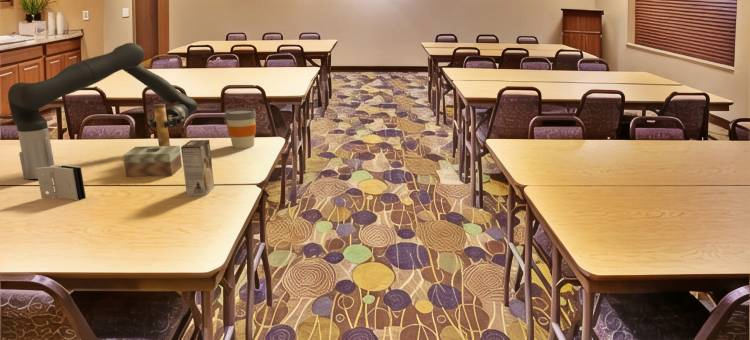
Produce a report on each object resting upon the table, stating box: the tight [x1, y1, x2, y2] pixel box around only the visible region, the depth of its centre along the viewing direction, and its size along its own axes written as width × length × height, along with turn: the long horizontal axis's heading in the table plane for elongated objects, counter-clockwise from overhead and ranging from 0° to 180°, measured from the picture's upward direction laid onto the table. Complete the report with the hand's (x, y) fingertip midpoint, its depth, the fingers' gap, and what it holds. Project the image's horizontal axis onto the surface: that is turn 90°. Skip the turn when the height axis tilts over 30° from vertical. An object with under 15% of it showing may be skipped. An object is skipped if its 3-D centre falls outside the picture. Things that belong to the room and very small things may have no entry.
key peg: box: [152, 103, 171, 146], centre depth 219 cm, size 4×4×17 cm
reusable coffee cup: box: [225, 108, 257, 149], centre depth 244 cm, size 13×13×15 cm
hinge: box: [36, 164, 87, 201], centre depth 182 cm, size 14×5×10 cm, turn 81°
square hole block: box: [122, 145, 183, 178], centre depth 209 cm, size 16×12×8 cm
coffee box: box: [180, 139, 215, 197], centre depth 184 cm, size 9×6×16 cm
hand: (159, 125), depth 216 cm, fingers closed on key peg, 4 cm apart
